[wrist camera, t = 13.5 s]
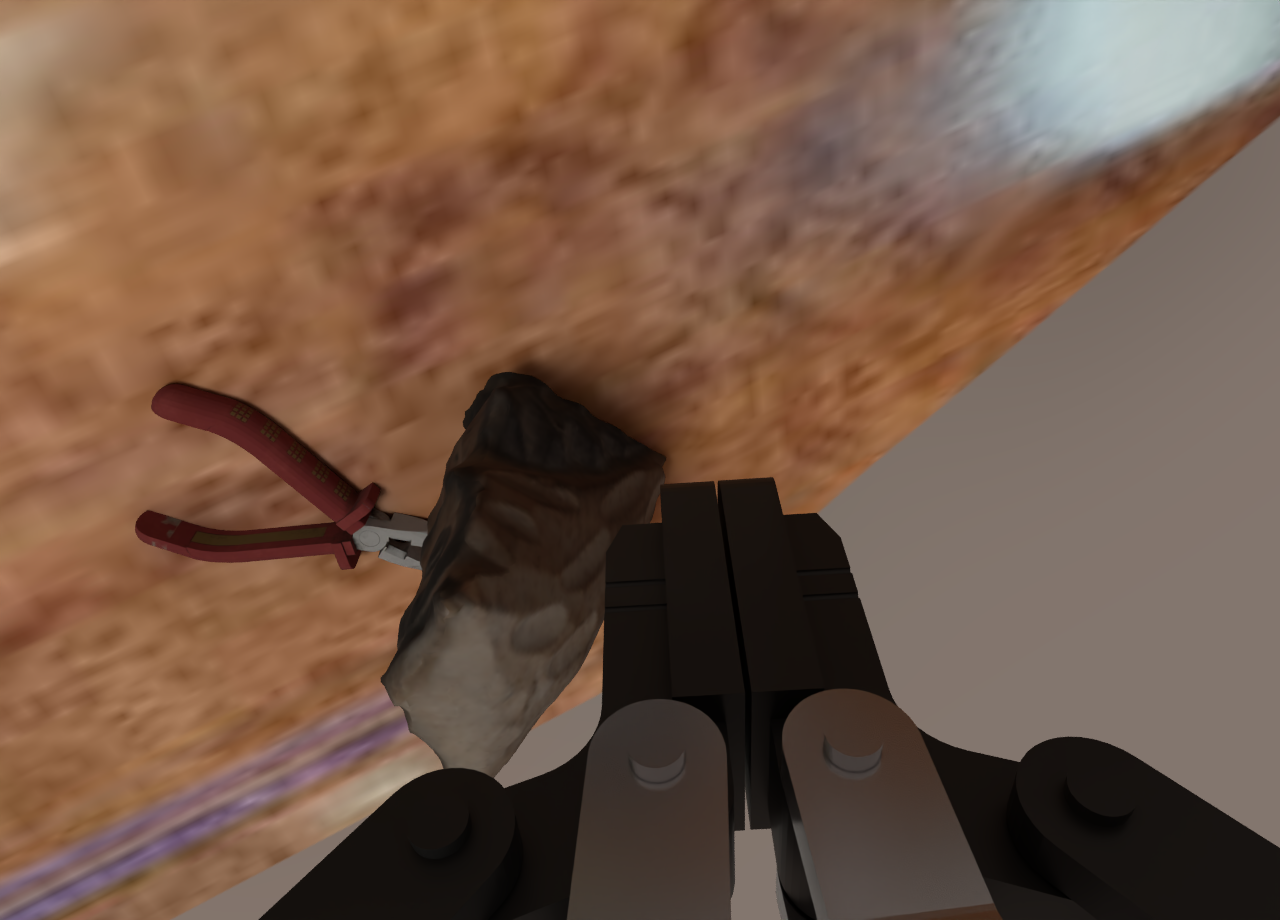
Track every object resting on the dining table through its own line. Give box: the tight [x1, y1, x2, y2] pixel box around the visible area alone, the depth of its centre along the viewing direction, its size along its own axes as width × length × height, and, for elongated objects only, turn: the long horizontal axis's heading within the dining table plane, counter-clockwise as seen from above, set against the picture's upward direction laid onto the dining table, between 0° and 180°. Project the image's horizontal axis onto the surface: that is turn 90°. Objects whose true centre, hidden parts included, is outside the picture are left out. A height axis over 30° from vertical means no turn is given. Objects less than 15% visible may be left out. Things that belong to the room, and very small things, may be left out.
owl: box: [381, 372, 666, 778], centre depth 45 cm, size 13×13×20 cm
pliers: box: [135, 384, 428, 570], centre depth 55 cm, size 12×21×3 cm, turn 67°
